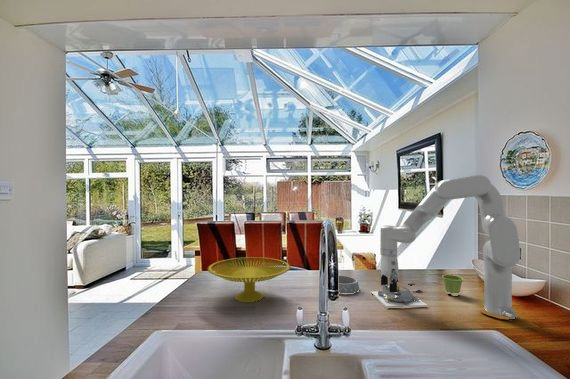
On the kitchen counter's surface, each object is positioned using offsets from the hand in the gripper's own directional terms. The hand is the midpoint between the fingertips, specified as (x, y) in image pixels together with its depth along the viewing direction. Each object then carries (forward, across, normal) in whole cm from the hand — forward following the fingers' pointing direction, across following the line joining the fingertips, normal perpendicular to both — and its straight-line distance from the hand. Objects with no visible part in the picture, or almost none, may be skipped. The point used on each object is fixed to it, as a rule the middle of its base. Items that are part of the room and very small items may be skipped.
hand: (388, 288), depth 141 cm
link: (+3, 0, 0) cm, 3 cm away
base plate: (+6, +1, -5) cm, 8 cm away
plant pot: (+6, +6, -36) cm, 37 cm away
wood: (+7, +21, -20) cm, 30 cm away
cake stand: (+6, +10, +65) cm, 66 cm away
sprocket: (+5, +1, -5) cm, 7 cm away
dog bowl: (+7, +19, +17) cm, 26 cm away
